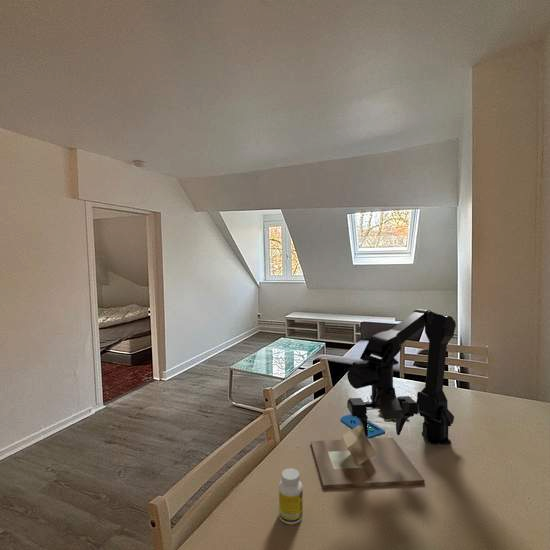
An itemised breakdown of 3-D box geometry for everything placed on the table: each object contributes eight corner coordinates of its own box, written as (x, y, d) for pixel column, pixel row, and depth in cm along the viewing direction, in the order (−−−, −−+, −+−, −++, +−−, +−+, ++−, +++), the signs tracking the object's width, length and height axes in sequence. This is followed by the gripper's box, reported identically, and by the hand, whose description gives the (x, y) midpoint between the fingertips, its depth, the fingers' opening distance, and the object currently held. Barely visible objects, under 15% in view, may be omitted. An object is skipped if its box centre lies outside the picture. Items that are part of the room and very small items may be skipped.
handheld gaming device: (355, 411, 122) (386, 430, 108) (355, 414, 122) (386, 433, 108) (337, 417, 118) (366, 437, 105) (337, 420, 118) (366, 440, 105)
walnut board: (392, 440, 104) (392, 437, 103) (424, 483, 84) (424, 479, 84) (311, 444, 102) (311, 441, 102) (323, 488, 82) (323, 485, 82)
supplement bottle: (304, 524, 71) (304, 481, 71) (280, 526, 71) (279, 482, 71) (300, 505, 77) (300, 465, 76) (277, 507, 76) (277, 467, 76)
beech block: (359, 424, 95) (341, 435, 95) (365, 435, 90) (347, 447, 89) (369, 441, 96) (352, 452, 96) (376, 453, 90) (358, 465, 90)
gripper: (358, 394, 84) (358, 453, 84) (429, 391, 84) (429, 450, 85) (346, 378, 95) (346, 431, 95) (409, 376, 96) (409, 428, 96)
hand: (382, 435), depth 93 cm, fingers open, 9 cm apart
